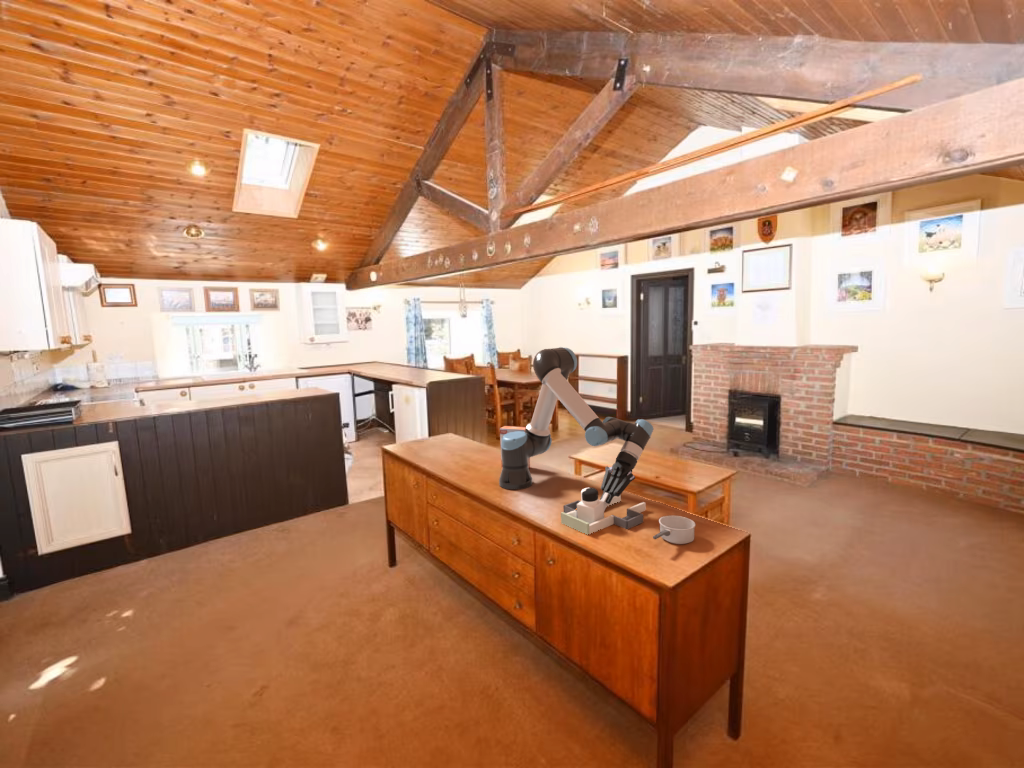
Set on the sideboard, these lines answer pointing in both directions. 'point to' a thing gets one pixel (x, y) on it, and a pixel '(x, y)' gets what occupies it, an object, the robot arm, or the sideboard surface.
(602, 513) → the medicine bottle
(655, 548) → the sideboard surface
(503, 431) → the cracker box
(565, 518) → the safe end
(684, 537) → the saucepan
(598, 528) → the channel
